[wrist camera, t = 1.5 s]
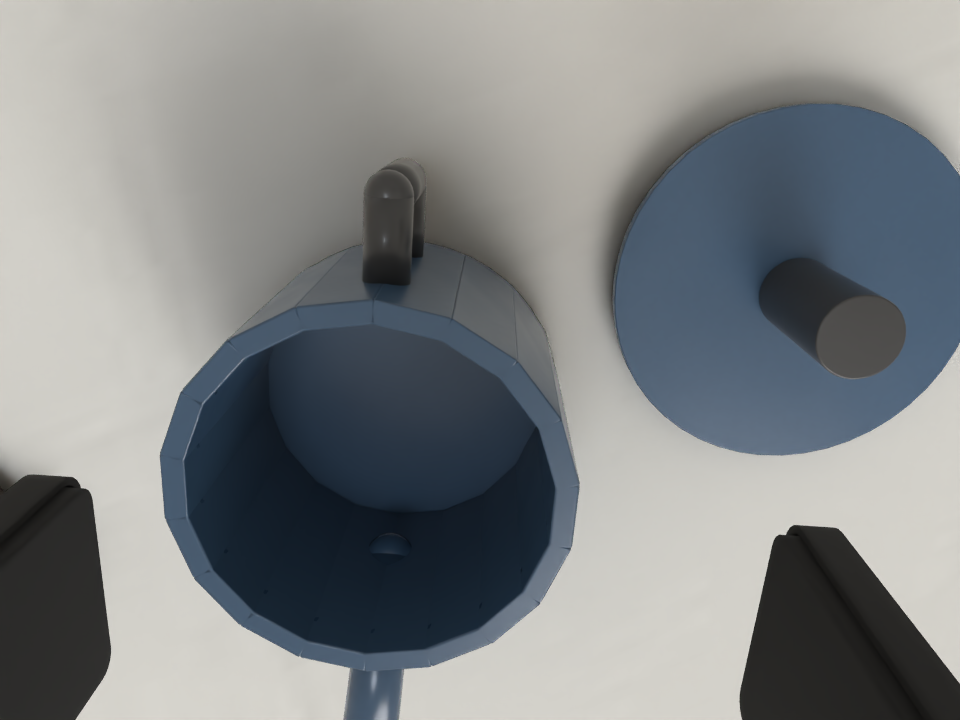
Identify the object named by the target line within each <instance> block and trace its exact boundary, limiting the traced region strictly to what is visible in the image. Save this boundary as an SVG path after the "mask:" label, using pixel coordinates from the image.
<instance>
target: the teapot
mask: <svg viewBox="0 0 960 720" xmlns="http://www.w3.org/2000/svg"><path fill="white" fill-rule="evenodd" d="M362 267H363V245H359V246H353V247H350V248H348V249H346V250H343V251H341V252H339V253H336V254H334V255H331V256H329V257H327V258H326V259H324V260H322V261H321V262H319V263H317V264H315V265H313V266H311V267H309V268H307V269H305V270H304V271H303V272H301V273H300V274H299V275H298V276H297V277H296V278H294V279H293V280H292V281H291V282H290V283H289V284H288V285H287V286H286V287H285V288H283V289H282V290H281V291H280V292H279V293H278V294H277V295H276V296H275V297H274V298H272V299H271V300H270V301H269V302H268V303H267V304H266V305H265V306H264V307H263V308H261V309H260V310H259V311H258V312H257V313H256V314H255V315H254V316H253V317H252V318H251V319H249V320H248V321H247V322H246V323H245V324H244V325H243V326H242V327H241V328H240V329H238V330H237V331H236V332H235V333H234V334H233V335H232V336H231V337H230V338H229V339H227V340H226V341H225V342H224V344H223V345H222V346H221V347H220V348H219V349H218V350H217V351H216V353H215V354H214V355H213V356H212V357H211V358H210V359H209V360H208V361H207V363H206V364H205V365H204V366H203V367H202V368H201V369H200V370H199V372H198V373H197V374H196V375H195V376H194V377H193V378H192V379H191V380H190V382H189V383H188V384H187V385H186V386H185V387H184V388H183V390H182V392H181V393H180V395H179V398H178V401H177V404H176V407H175V410H174V413H173V416H172V419H171V422H170V425H169V428H168V431H167V434H166V437H165V440H164V443H163V446H162V449H161V452H160V463H161V476H162V488H163V501H164V513H165V519H166V522H167V524H168V526H169V528H170V530H171V532H172V534H173V536H174V538H175V540H176V542H177V544H178V546H179V548H180V551H181V553H182V555H183V557H184V559H185V561H186V563H187V565H188V567H189V569H190V571H191V573H192V575H193V577H194V579H195V580H196V581H197V582H198V583H199V584H200V585H201V586H202V587H203V588H204V589H205V590H206V591H207V592H208V593H209V594H210V595H211V596H212V597H213V598H214V599H215V600H216V601H217V602H218V603H219V604H220V605H221V607H222V608H223V609H224V610H225V611H226V612H227V613H228V614H229V615H230V616H231V617H232V618H233V619H234V620H235V621H236V622H237V623H238V624H240V625H241V626H243V627H244V628H246V629H248V630H250V631H252V632H254V633H256V634H257V635H259V636H261V637H263V638H265V639H267V640H269V641H270V642H272V643H274V644H276V645H278V646H280V647H282V648H283V649H285V650H287V651H289V652H291V653H293V654H295V655H296V656H301V657H302V658H307V659H311V660H316V661H321V662H325V663H330V664H335V665H339V666H344V667H348V668H353V669H358V670H362V671H364V670H365V671H379V670H394V669H408V668H423V667H431V665H432V666H434V665H437V664H439V663H442V662H444V661H447V660H450V659H452V658H455V657H457V656H460V655H463V654H465V653H468V652H471V651H473V650H476V649H478V648H481V647H484V646H486V645H489V644H490V643H493V642H495V641H496V640H497V639H498V638H499V637H501V636H502V635H503V634H504V633H505V632H507V631H508V630H509V629H510V628H512V627H513V626H514V625H515V624H516V623H518V622H519V621H520V620H521V619H522V618H524V617H525V616H526V615H527V614H528V613H530V612H531V611H532V610H533V609H534V608H536V607H537V606H538V605H539V604H540V602H541V601H542V600H543V598H544V596H545V594H546V592H547V591H548V589H549V587H550V585H551V584H552V582H553V580H554V578H555V577H556V575H557V573H558V571H559V570H560V568H561V566H562V564H563V563H564V561H565V559H566V557H567V556H568V554H569V552H570V550H571V546H572V542H573V534H574V526H575V518H576V511H577V503H578V495H579V484H580V483H579V478H578V473H577V468H576V463H575V459H574V454H573V449H572V444H571V439H570V434H569V429H568V424H567V419H566V414H565V410H564V405H563V400H562V395H561V390H560V385H559V380H558V376H557V373H556V369H555V365H554V361H553V358H552V354H551V350H550V346H549V343H548V339H547V336H546V332H545V330H544V328H543V327H542V325H541V324H540V323H539V321H538V320H537V318H536V316H535V314H534V313H533V311H532V310H531V308H530V307H529V306H528V304H527V303H526V302H525V300H524V299H523V298H522V296H521V295H520V294H519V293H518V292H517V291H516V290H515V288H514V287H512V285H510V284H509V283H508V282H507V281H506V280H505V279H503V278H502V277H501V276H499V275H498V274H497V273H496V272H494V271H493V270H492V269H490V268H489V267H487V266H485V265H484V264H482V263H480V262H479V261H477V260H475V259H473V258H472V257H469V256H467V255H465V254H462V253H460V252H457V251H455V250H453V249H449V248H446V247H442V246H438V245H435V244H431V243H424V251H423V257H420V258H413V257H412V263H411V283H410V284H409V285H404V286H399V285H390V284H381V283H376V284H372V283H365V282H363V281H362ZM384 533H397V534H400V535H402V536H404V537H405V538H407V539H408V540H409V542H410V543H411V546H412V548H411V551H410V552H409V554H408V555H407V556H406V557H404V558H403V559H401V560H399V561H397V562H395V563H392V564H389V565H385V564H383V563H381V562H379V561H378V560H377V559H375V558H374V557H373V555H372V554H371V553H370V550H369V544H370V543H371V541H372V540H373V539H374V538H376V537H377V536H379V535H381V534H384Z"/></svg>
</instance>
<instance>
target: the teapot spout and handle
mask: <svg viewBox="0 0 960 720" xmlns="http://www.w3.org/2000/svg"><path fill="white" fill-rule="evenodd" d="M426 183H427V181H426V174H425V171H424V169H423V167H422V166H421V165H420V164H419V163H418V162H416V161H415V160H413V159H410V158H400V159H397V160H395V161H393V162H391V163H390V164H388V165H387V166H385V167H384V168H382V169H381V170H379V171H378V172H376V173H375V174H373V175H372V176H371V177H370V178H369V180H368V181H367V183H366V185H365V188H364V210H363V267H362V281H363V282H365V283H372V284H376V283H381V284H390V285H399V286H404V285H409V284H410V283H411V263H412V257H413V258H420V257H423V251H424V228H425V206H426ZM411 548H412V546H411V543H410V542H409V540H408V539H407V538H405V537H404V536H402V535H400V534H397V533H384V534H381V535H379V536H377V537H376V538H374V539H373V540H372V541H371V543H370V544H369V550H370V553H371V554H372V555H373V557H374V558H375V559H377V560H378V561H379V562H381V563H383V564H385V565H389V564H392V563H395V562H397V561H399V560H401V559H403V558H404V557H406V556H407V555H408V554H409V552H410V551H411ZM403 675H404V669H394V670H379V671H365V670H364V671H362V670H358V669H353V668H350V673H349V681H348V689H347V696H346V704H345V712H344V719H343V720H399V714H400V704H401V695H402V685H403Z"/></svg>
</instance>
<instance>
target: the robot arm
mask: <svg viewBox="0 0 960 720" xmlns="http://www.w3.org/2000/svg"><path fill="white" fill-rule="evenodd" d="M110 656H111V645H110V637H109V629H108V621H107V613H106V605H105V597H104V589H103V581H102V573H101V565H100V557H99V549H98V541H97V533H96V525H95V517H94V508H93V500H92V496H91V494H90V492H89V491H88V490H87V489H82V488H81V487H80V484H79V483H78V481H77V480H76V479H75V478H73V477H62V476H47V475H27V476H25V477H23V478H22V479H20V480H19V481H18V482H17V483H15V484H14V485H13V486H12V487H10V488H9V489H8V490H7V491H6V492H4V493H3V494H2V495H1V496H0V720H75V719H76V718H77V716H78V715H79V713H80V712H81V711H82V709H83V708H84V706H85V705H86V703H87V702H88V700H89V699H90V697H91V696H92V694H93V693H94V691H95V690H96V688H97V687H98V685H99V684H100V682H101V681H102V679H103V678H104V676H105V674H106V672H107V669H108V666H109V662H110ZM740 711H741V717H742V720H960V684H959V682H958V681H957V680H956V678H955V677H954V676H953V675H952V673H951V672H950V671H949V669H948V668H947V667H946V666H945V664H944V663H943V662H942V660H941V659H940V658H939V657H938V655H937V654H936V653H935V651H934V650H933V649H932V648H931V646H930V645H929V644H928V642H927V641H926V640H925V639H924V637H923V636H922V635H921V633H920V632H919V631H918V630H917V628H916V627H915V626H914V624H913V623H912V622H911V620H910V619H909V618H908V617H907V615H906V614H905V613H904V611H903V610H902V609H901V608H900V606H899V605H898V604H897V602H896V601H895V600H894V599H893V597H892V596H891V595H890V593H889V592H888V591H887V590H886V588H885V587H884V586H883V584H882V583H881V582H880V581H879V579H878V578H877V577H876V575H875V574H874V573H873V572H872V570H871V569H870V568H869V566H868V565H867V564H866V563H865V561H864V560H863V559H862V557H861V556H860V555H859V554H858V552H857V551H856V550H855V548H854V547H853V546H852V545H851V543H850V542H849V541H848V539H847V538H846V537H845V536H844V534H843V533H842V532H841V531H840V530H839V529H837V528H830V527H815V526H800V525H793V526H792V527H790V529H789V530H788V532H787V534H786V535H778V536H776V538H775V540H774V542H773V545H772V549H771V554H770V559H769V563H768V568H767V572H766V577H765V581H764V586H763V590H762V595H761V599H760V604H759V608H758V613H757V617H756V622H755V626H754V631H753V635H752V640H751V645H750V649H749V654H748V658H747V663H746V667H745V672H744V676H743V681H742V685H741V690H740Z"/></svg>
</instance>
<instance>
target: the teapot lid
mask: <svg viewBox="0 0 960 720" xmlns="http://www.w3.org/2000/svg"><path fill="white" fill-rule="evenodd" d="M612 301H613V315H614V324H615V329H616V333H617V338H618V343H619V346H620V348H621V351H622V354H623V356H624V359H625V362H626V364H627V366H628V368H629V370H630V372H631V374H632V376H633V377H634V379H635V381H636V383H637V385H638V386H639V387H640V389H641V390H642V391H643V393H644V394H645V396H646V397H647V398H648V400H649V401H650V402H651V403H652V404H653V405H654V406H655V407H656V408H657V409H658V410H659V411H660V412H661V413H662V414H663V415H664V416H665V417H666V418H668V419H669V420H670V421H672V422H673V423H674V424H675V425H677V426H678V427H679V428H681V429H682V430H684V431H686V432H688V433H689V434H691V435H693V436H695V437H697V438H698V439H701V440H703V441H706V442H708V443H710V444H713V445H715V446H718V447H721V448H725V449H729V450H733V451H737V452H742V453H749V454H757V455H791V454H801V453H808V452H812V451H817V450H822V449H826V448H829V447H832V446H835V445H838V444H841V443H844V442H847V441H850V440H852V439H854V438H857V437H859V436H861V435H863V434H865V433H867V432H870V431H871V430H873V429H875V428H876V427H878V426H880V425H881V424H883V423H885V422H886V421H888V420H890V419H891V418H893V417H894V416H895V415H897V414H898V413H899V412H900V411H902V410H903V409H904V408H906V407H907V406H908V405H910V404H911V403H912V402H913V401H914V400H915V399H916V398H917V397H918V396H919V395H920V394H921V393H922V392H923V391H925V390H926V389H927V388H928V386H929V385H930V384H931V383H932V382H933V380H934V379H935V378H936V377H937V376H938V375H939V373H940V372H941V371H942V370H943V368H944V367H945V365H946V364H947V362H948V361H949V359H950V358H951V356H952V355H953V353H954V352H955V350H956V349H957V347H958V345H959V343H960V176H959V174H958V172H957V171H956V170H955V169H954V167H953V166H952V165H951V163H950V162H949V161H948V159H947V158H946V157H945V156H944V154H943V153H942V152H941V151H939V150H938V149H937V148H936V147H935V146H934V145H933V144H932V143H931V142H930V141H929V140H928V139H927V138H925V137H924V136H922V135H921V134H919V133H918V132H916V131H915V130H913V129H912V128H911V127H909V126H908V125H906V124H904V123H902V122H900V121H897V120H895V119H893V118H891V117H889V116H887V115H885V114H881V113H878V112H875V111H871V110H868V109H865V108H861V107H855V106H848V105H841V104H822V103H805V104H797V105H789V106H782V107H777V108H773V109H769V110H766V111H762V112H758V113H754V114H752V115H749V116H747V117H744V118H742V119H740V120H737V121H735V122H732V123H730V124H728V125H726V126H724V127H723V128H721V129H719V130H717V131H715V132H714V133H712V134H710V135H708V136H707V137H705V138H704V139H702V140H701V141H700V142H698V143H697V144H696V145H694V146H693V147H692V148H690V149H689V150H687V151H686V152H685V153H684V154H683V155H682V156H681V157H680V158H678V159H677V160H676V161H675V162H674V163H673V164H672V165H671V166H670V167H669V168H668V169H667V170H666V171H665V172H664V173H663V175H662V176H661V177H660V178H659V179H658V181H657V182H656V183H655V184H654V185H653V186H652V188H651V189H650V190H649V192H648V193H647V195H646V197H645V198H644V200H643V201H642V203H641V204H640V206H639V207H638V209H637V210H636V213H635V215H634V217H633V219H632V221H631V223H630V225H629V227H628V229H627V231H626V234H625V237H624V239H623V242H622V245H621V248H620V251H619V254H618V259H617V264H616V269H615V274H614V283H613V299H612Z"/></svg>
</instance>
